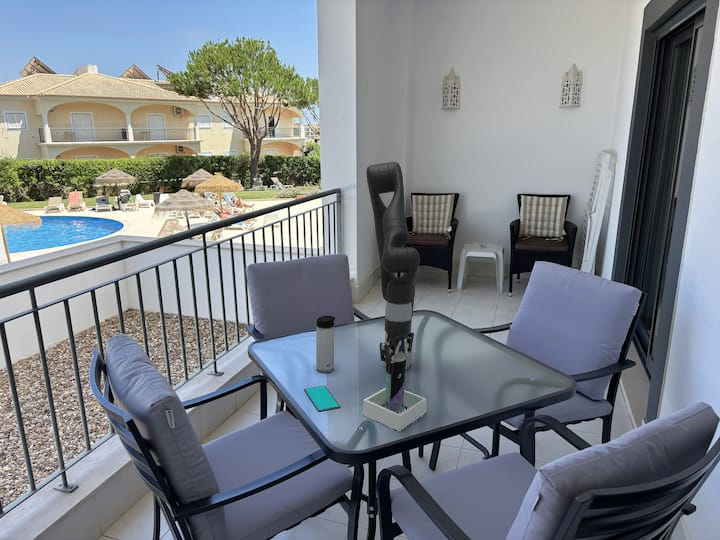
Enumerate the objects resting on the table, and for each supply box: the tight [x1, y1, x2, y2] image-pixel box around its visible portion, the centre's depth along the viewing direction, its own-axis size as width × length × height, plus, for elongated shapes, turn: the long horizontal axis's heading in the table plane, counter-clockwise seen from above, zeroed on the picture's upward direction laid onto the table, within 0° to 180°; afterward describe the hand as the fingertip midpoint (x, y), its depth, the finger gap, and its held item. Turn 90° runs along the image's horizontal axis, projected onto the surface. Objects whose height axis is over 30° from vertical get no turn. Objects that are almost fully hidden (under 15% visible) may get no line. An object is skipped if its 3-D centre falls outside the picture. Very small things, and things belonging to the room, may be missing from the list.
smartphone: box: [303, 385, 341, 413], centre depth 161 cm, size 7×1×15 cm
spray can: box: [384, 349, 406, 413], centre depth 149 cm, size 6×6×20 cm
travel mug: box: [315, 315, 336, 374], centre depth 179 cm, size 6×7×20 cm
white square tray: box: [362, 387, 428, 430], centre depth 152 cm, size 14×14×5 cm
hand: (395, 370), depth 149 cm, fingers closed on spray can, 5 cm apart
